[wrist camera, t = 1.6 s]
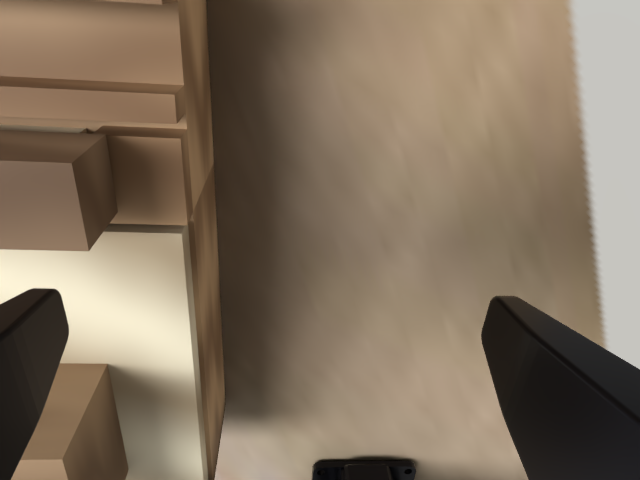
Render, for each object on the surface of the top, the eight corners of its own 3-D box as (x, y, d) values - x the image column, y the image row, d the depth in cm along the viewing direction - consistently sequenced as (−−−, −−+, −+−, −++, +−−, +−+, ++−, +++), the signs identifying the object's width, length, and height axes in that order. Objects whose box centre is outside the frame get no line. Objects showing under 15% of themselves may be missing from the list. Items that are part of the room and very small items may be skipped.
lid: (211, 466, 24) (189, 604, 18) (29, 468, 23) (-47, 612, 18) (186, 123, 15) (134, 197, 10) (-96, 111, 15) (-306, 183, 10)
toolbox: (225, 404, 27) (207, 524, 21) (61, 405, 27) (-5, 528, 21) (204, -43, 17) (157, -54, 11) (-68, -62, 16) (-279, -86, 10)
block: (118, 212, 14) (88, 251, 12) (-57, 206, 14) (-117, 246, 12) (105, 134, 13) (71, 163, 11) (-85, 126, 13) (-157, 154, 11)
